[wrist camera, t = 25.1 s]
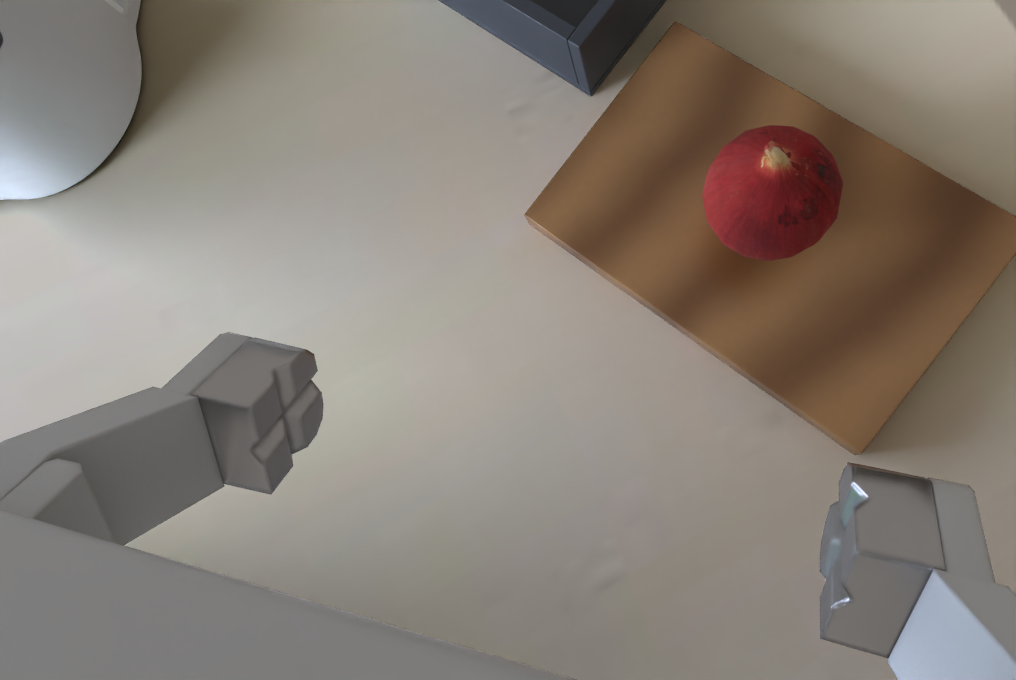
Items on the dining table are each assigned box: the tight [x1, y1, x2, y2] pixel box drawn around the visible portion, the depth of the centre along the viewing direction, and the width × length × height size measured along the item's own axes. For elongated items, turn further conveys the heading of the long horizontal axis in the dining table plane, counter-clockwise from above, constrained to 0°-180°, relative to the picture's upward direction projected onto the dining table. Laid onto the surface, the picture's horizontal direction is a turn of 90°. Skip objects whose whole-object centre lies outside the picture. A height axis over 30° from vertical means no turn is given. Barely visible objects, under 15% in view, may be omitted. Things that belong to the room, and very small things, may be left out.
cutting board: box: [524, 22, 1016, 455], centre depth 39 cm, size 20×13×2 cm, turn 51°
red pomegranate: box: [702, 125, 843, 261], centre depth 34 cm, size 6×6×8 cm
